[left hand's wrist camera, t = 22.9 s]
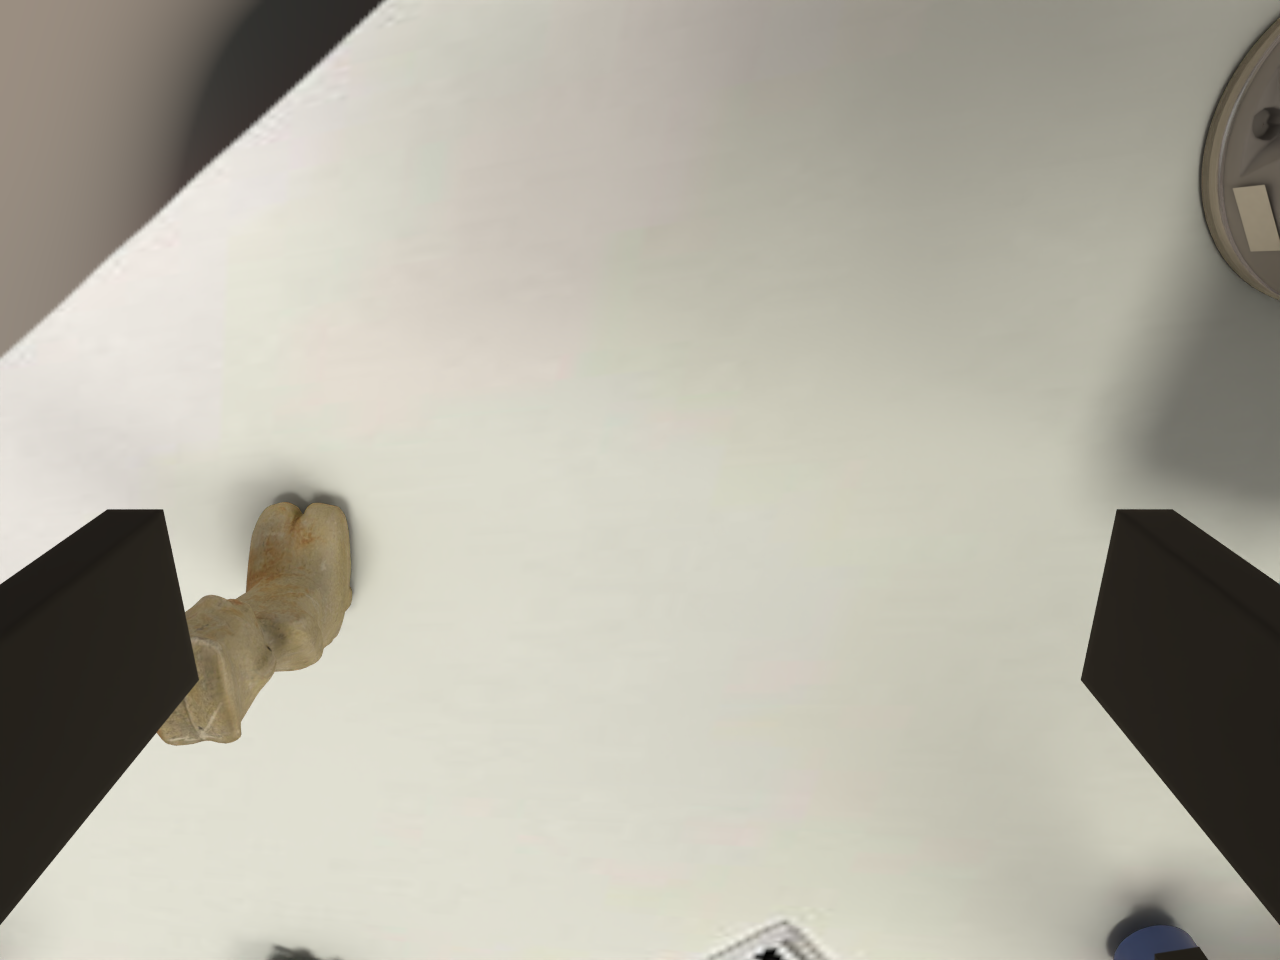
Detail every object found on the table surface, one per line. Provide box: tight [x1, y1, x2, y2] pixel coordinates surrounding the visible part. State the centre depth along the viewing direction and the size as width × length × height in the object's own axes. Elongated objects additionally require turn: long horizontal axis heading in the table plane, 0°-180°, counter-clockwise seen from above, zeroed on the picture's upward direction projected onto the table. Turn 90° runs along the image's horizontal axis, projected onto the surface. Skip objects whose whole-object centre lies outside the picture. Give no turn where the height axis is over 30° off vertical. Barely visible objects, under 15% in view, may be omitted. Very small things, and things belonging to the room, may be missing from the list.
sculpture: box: [157, 502, 352, 746], centre depth 42 cm, size 6×7×15 cm
